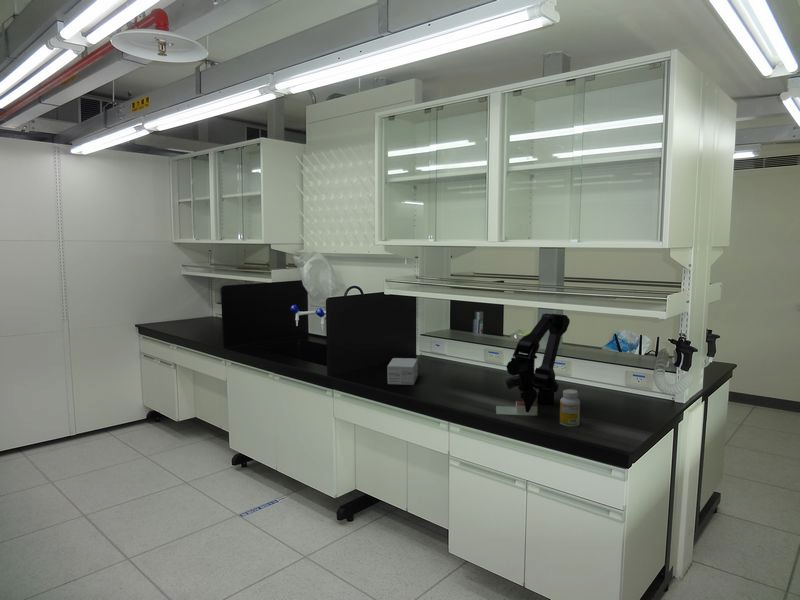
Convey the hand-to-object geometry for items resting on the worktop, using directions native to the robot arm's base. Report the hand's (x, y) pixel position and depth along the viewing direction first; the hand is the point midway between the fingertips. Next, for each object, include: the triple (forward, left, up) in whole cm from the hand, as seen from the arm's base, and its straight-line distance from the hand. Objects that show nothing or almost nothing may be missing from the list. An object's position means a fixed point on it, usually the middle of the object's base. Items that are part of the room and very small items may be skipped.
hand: (526, 408), depth 214 cm
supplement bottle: (-15, +12, -2) cm, 19 cm away
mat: (+4, 0, -2) cm, 4 cm away
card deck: (0, 0, -1) cm, 1 cm away
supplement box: (+57, -43, -2) cm, 71 cm away
